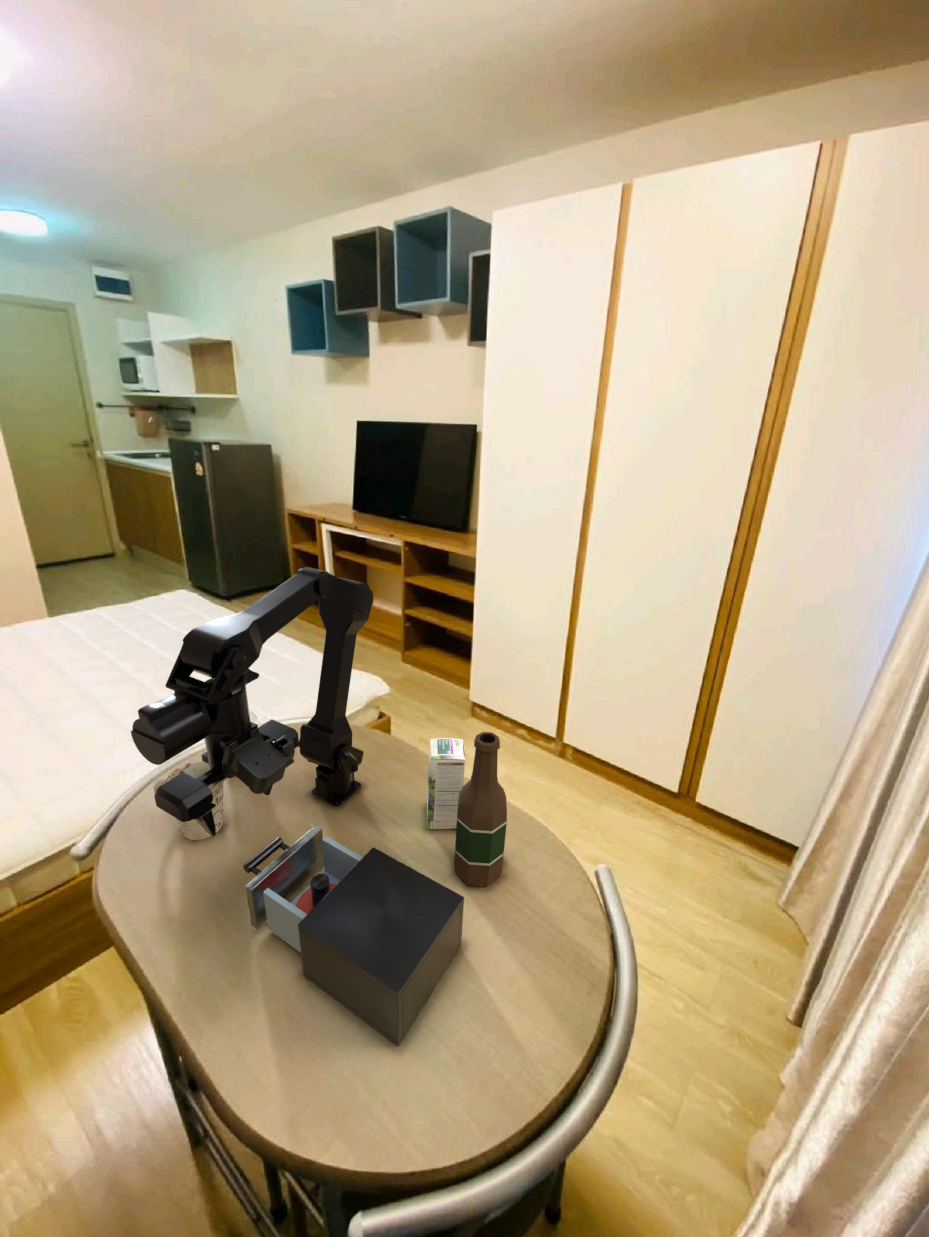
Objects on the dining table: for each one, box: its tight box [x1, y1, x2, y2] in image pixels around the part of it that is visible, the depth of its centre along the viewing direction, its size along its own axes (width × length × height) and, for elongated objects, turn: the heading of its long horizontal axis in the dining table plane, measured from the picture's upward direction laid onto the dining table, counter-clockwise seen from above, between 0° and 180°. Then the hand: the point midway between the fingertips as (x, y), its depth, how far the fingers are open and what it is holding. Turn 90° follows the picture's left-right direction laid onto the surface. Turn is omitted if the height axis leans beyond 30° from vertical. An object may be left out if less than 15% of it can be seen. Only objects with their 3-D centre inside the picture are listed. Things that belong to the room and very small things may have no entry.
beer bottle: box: [454, 731, 508, 887], centre depth 75 cm, size 8×8×24 cm
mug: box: [153, 760, 225, 841], centre depth 84 cm, size 8×13×10 cm, turn 78°
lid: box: [296, 873, 336, 914], centre depth 69 cm, size 7×7×5 cm
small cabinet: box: [298, 846, 465, 1048], centre depth 64 cm, size 15×14×9 cm
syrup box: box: [426, 737, 466, 830], centre depth 87 cm, size 6×6×14 cm
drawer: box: [242, 824, 364, 954], centre depth 70 cm, size 18×12×7 cm
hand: (240, 813), depth 74 cm, fingers open, 9 cm apart
